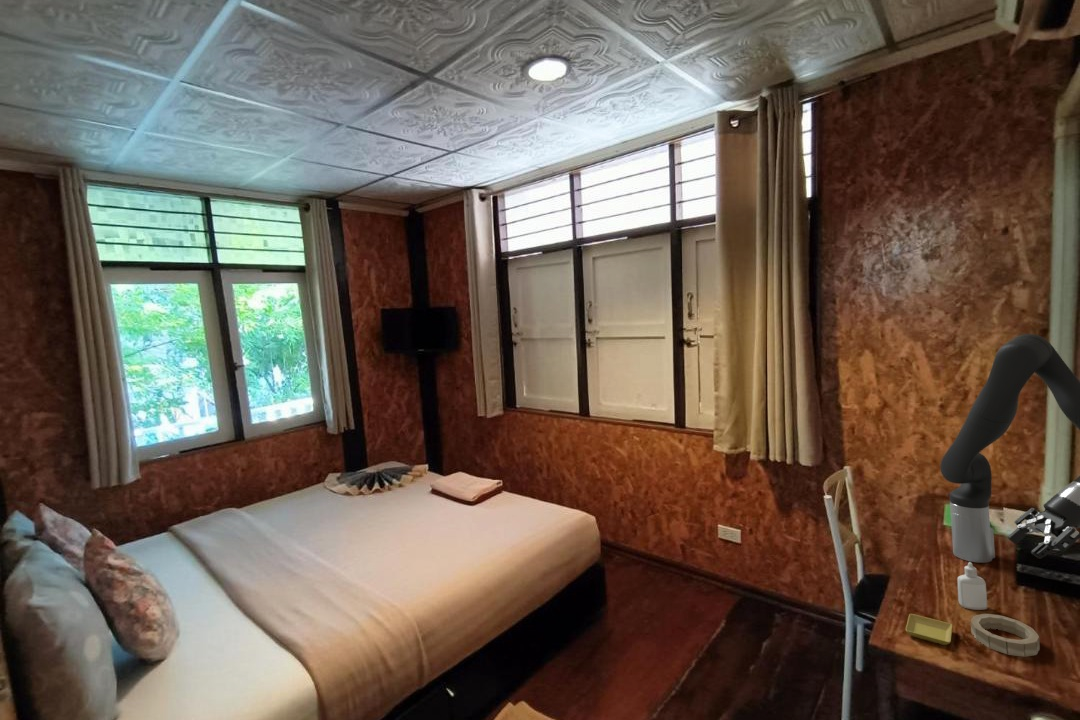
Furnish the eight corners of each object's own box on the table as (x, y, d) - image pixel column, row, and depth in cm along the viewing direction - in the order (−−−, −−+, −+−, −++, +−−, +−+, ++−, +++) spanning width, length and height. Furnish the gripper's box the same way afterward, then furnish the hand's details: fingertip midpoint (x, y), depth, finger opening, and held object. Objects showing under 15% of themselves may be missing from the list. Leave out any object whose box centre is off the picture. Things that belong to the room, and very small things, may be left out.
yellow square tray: (951, 650, 114) (950, 642, 114) (905, 638, 120) (904, 629, 120) (953, 632, 120) (952, 624, 120) (910, 620, 126) (909, 612, 126)
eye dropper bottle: (986, 614, 125) (983, 569, 124) (957, 606, 129) (955, 563, 128) (988, 606, 128) (985, 562, 127) (960, 599, 132) (957, 556, 131)
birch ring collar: (1000, 622, 121) (1000, 610, 121) (1053, 651, 110) (1052, 638, 109) (959, 629, 120) (958, 618, 120) (1008, 660, 109) (1007, 647, 108)
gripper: (1040, 485, 128) (991, 527, 132) (1085, 504, 115) (1029, 550, 118) (1066, 504, 127) (1016, 546, 131) (1114, 525, 114) (1057, 572, 117)
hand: (1022, 548), depth 124 cm, fingers open, 8 cm apart
